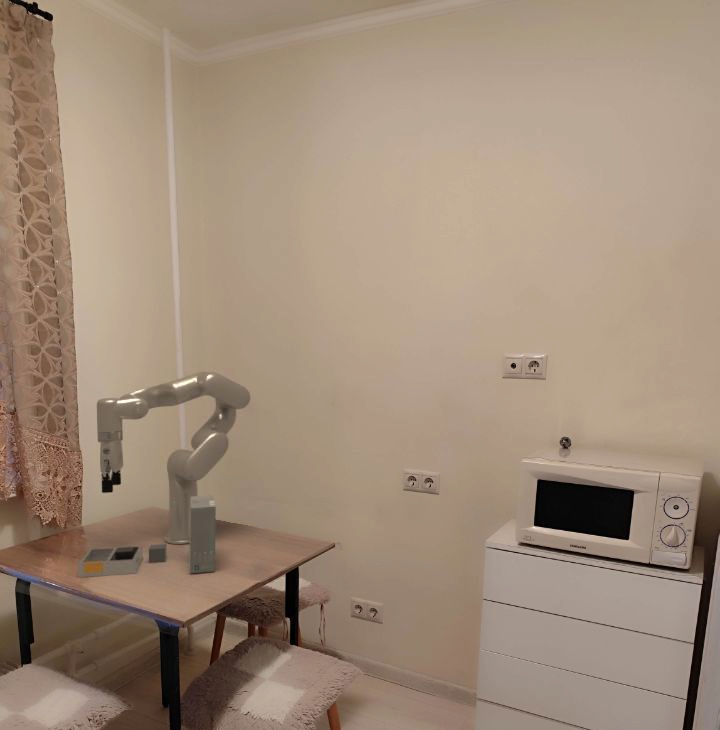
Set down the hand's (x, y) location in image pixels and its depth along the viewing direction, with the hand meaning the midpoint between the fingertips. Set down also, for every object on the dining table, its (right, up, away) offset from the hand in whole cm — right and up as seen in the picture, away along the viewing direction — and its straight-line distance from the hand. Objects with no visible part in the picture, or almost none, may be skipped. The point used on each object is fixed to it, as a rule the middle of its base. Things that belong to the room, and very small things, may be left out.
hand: (111, 488), depth 187 cm
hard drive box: (+31, -22, -7) cm, 39 cm away
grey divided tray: (+4, -22, -10) cm, 25 cm away
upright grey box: (+16, -22, -4) cm, 28 cm away
